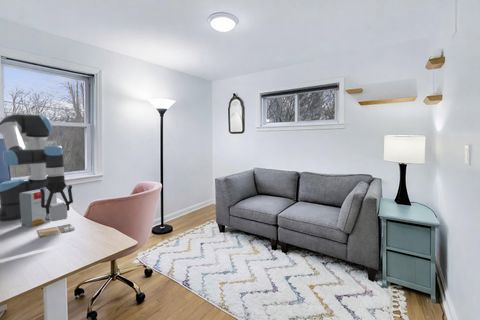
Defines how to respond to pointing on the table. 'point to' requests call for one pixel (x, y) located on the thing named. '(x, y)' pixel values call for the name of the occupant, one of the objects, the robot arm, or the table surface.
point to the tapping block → (58, 211)
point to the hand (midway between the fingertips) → (58, 218)
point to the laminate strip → (61, 228)
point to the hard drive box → (34, 208)
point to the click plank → (48, 232)
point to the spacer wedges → (68, 229)
